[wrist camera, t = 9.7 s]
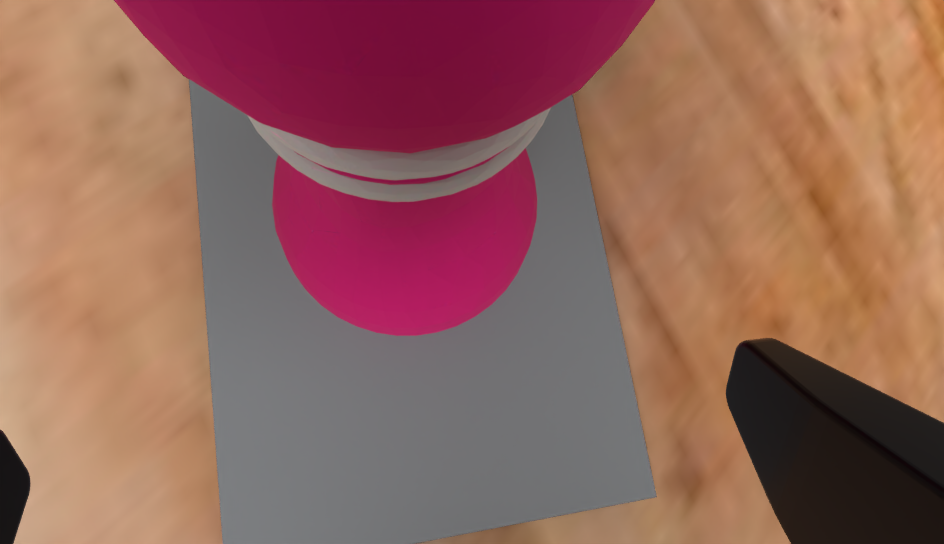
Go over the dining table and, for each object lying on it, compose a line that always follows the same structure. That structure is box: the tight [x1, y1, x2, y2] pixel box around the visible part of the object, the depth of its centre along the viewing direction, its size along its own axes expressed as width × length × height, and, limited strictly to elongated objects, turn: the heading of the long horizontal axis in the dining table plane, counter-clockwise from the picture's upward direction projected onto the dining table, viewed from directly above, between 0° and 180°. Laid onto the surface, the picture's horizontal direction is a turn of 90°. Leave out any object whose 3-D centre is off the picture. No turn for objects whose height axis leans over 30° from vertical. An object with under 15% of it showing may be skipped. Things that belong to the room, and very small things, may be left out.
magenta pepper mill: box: [114, 0, 655, 336], centre depth 12 cm, size 7×7×20 cm
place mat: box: [189, 79, 657, 544], centre depth 22 cm, size 20×14×1 cm
